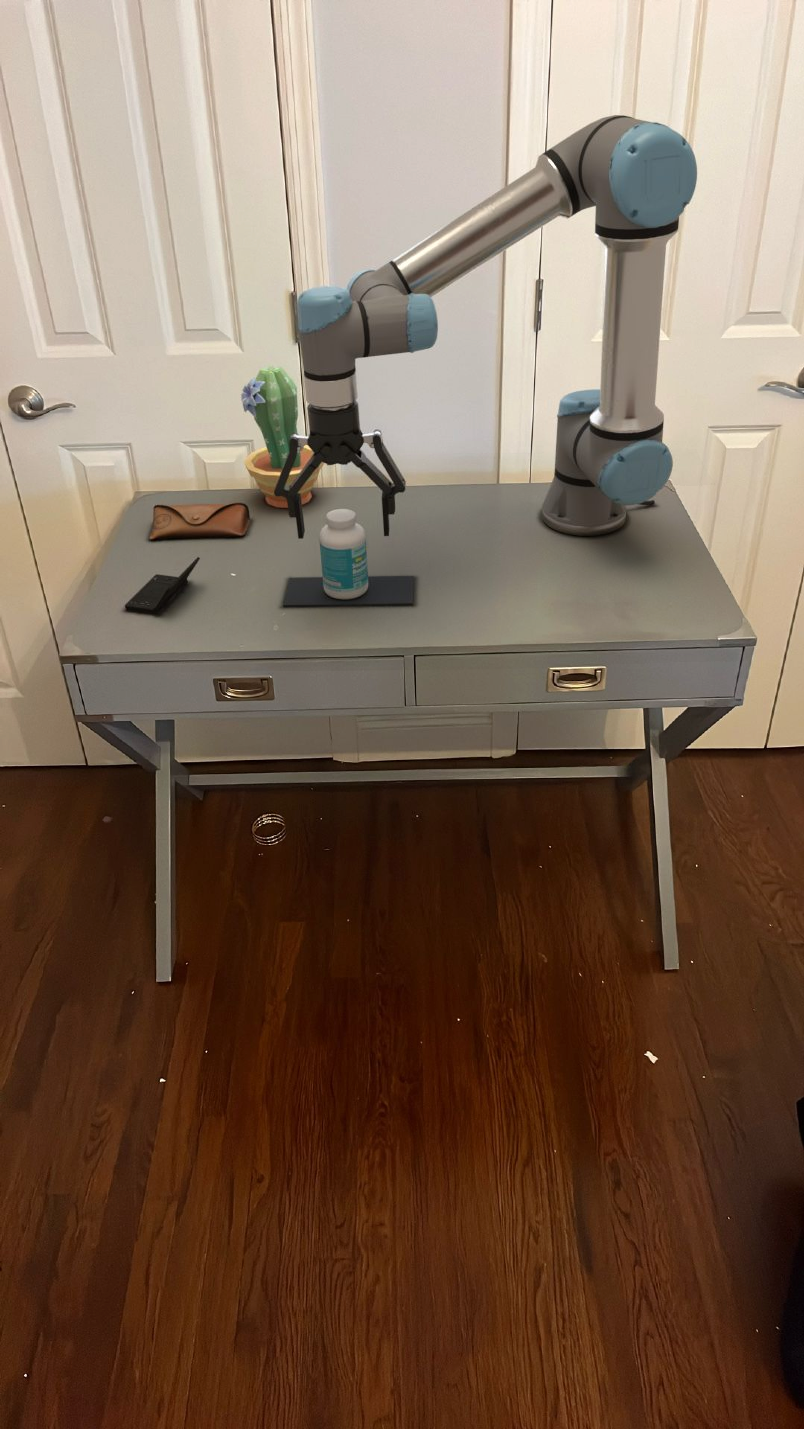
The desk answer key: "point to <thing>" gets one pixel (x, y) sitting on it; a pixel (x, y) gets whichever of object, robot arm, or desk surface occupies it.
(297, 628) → the desk surface
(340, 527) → the pill bottle
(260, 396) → the potted cactus
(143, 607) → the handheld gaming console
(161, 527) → the sunglasses case
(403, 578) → the desk mat
